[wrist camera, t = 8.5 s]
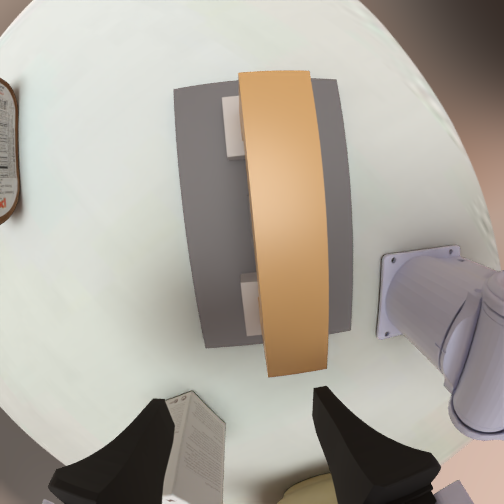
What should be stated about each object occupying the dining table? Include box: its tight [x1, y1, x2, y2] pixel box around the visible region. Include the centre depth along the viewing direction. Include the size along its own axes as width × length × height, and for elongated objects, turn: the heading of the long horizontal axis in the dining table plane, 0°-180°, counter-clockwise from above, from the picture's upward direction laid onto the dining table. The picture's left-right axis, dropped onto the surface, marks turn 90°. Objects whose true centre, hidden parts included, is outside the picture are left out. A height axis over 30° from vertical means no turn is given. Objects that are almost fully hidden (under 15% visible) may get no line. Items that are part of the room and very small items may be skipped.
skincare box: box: [162, 391, 226, 504], centre depth 18 cm, size 6×4×12 cm
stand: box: [174, 78, 353, 348], centre depth 18 cm, size 12×20×4 cm, turn 5°
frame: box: [238, 71, 329, 377], centre depth 14 cm, size 3×14×6 cm, turn 6°
